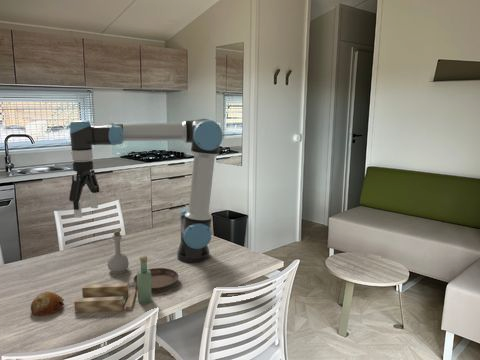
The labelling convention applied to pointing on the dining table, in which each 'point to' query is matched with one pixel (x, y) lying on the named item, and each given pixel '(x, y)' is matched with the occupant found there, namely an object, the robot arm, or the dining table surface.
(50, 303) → the bread roll
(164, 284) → the plant saucer
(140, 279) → the bottle
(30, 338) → the dining table surface
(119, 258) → the potion bottle
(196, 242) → the robot arm
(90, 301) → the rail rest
